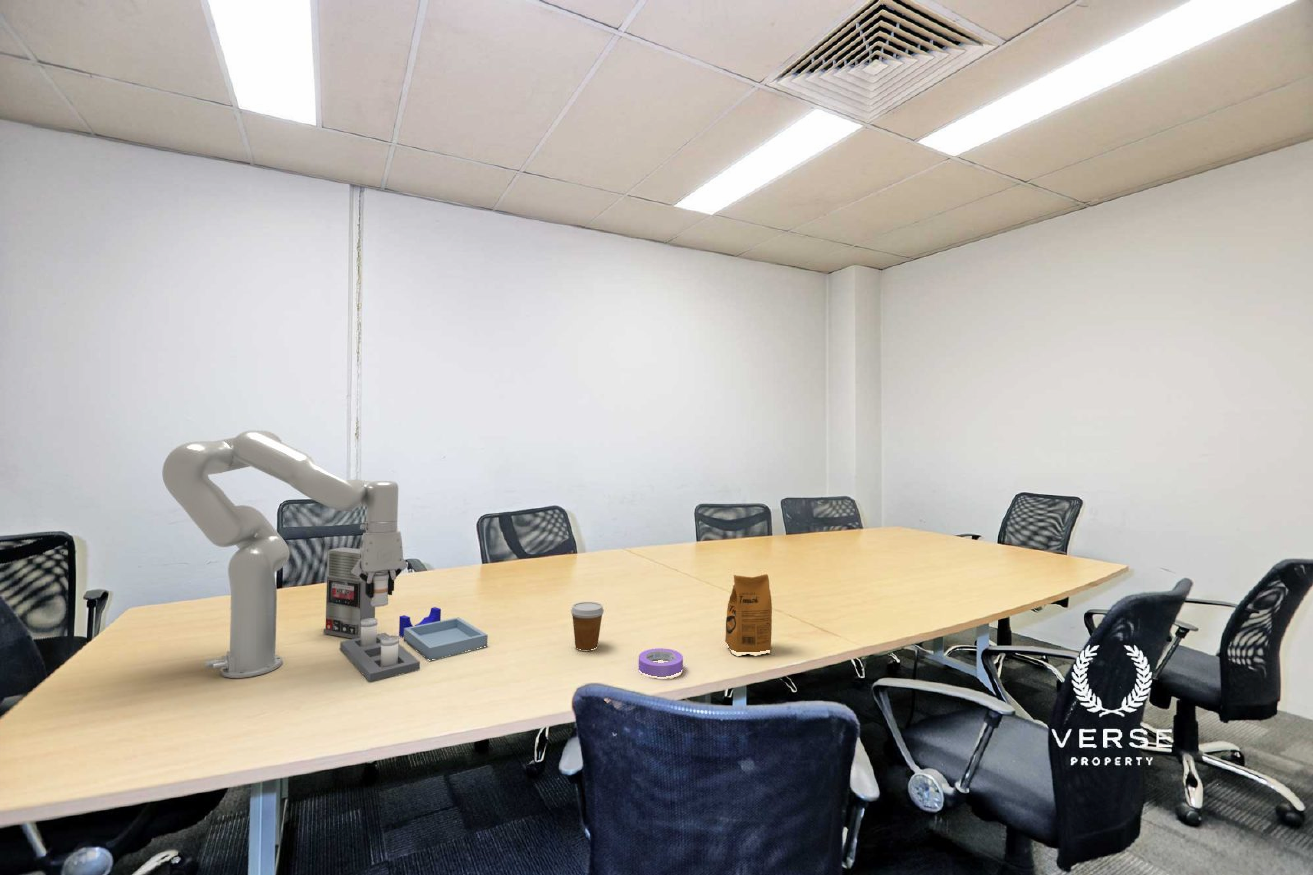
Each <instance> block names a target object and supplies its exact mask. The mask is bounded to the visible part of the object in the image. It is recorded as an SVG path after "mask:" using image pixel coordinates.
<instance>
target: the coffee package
mask: <svg viewBox="0 0 1313 875" xmlns="http://www.w3.org/2000/svg"><path fill="white" fill-rule="evenodd" d="M733 582H734V583H733V585H732V590H731V593H730V596H729V600H728V603H727V610H726V619H725V636H724V637H725V639H724V640H725V644H726V643H727V644H728V646H729V648H730V649H731V650H734V651H736V652H760V651H766V650H771V651H772V631H773V630H772V626H773V625H772V623H773V619H772V616H773V604H772V603H773V602H772V595H771V590H770V579H769V575H768V574H767V573H766V574H761V575H758V576H757V575H756V576H753V577H751V576H743V575H736V574H733ZM727 644H726V645H727Z"/></svg>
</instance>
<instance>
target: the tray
mask: <svg viewBox="0 0 1313 875" xmlns="http://www.w3.org/2000/svg"><path fill="white" fill-rule="evenodd" d="M488 637H489V636H488V634H487V633H486V632H484V631H482V630H480V629H479V628H477V627H475V626H474V625H472V624H470V623H469V622H467V621H466V620H464V619H462V618H461V617H459V616H458V617H454V618H448V619H443V620H441V621H438V622H433V623H428V624H423V625H418V626H415V625H413V627H408V628H404V638H403V641H404V642H405V641H406V642H407V643H406V642H405V643H406V644H408V645H409V646H410V647H411V646H412V647H411V648H413V649H414V650H415V651H416V650H417V651H418V652H417V651H416V652H417V653H418V654H419V655H421V656H422V655H424V656H425V657H424V656H423V657H424V659H426V658H427V659H429V660H432V659H436V660H440V659H439V658H441V659H443V658H442V657H445V656H449V655H453V656H456V655H455V654H457V655H459V654H458V653H461V654H463V653H462V652H465V651H468V650H473V651H475V650H474V649H477V648H480V647H484V646H487V647H488ZM477 650H478V649H477ZM465 653H466V652H465ZM449 657H450V656H449ZM445 658H446V657H445ZM427 659H426V660H427ZM432 661H433V660H432Z"/></svg>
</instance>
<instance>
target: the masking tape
mask: <svg viewBox="0 0 1313 875" xmlns="http://www.w3.org/2000/svg"><path fill="white" fill-rule="evenodd" d="M658 660H663V661H668V662H664V663H658V662H653V661H658ZM682 669H683V670H684V657H683V654H682V653H680V652H679V651H677V650H674V649H669V648H661V647H659V648H651V649H650V648H649V649H645V650H644V651H642V652H640V654H638V671H639V670H640V671H641V672H642V673H645V674H648V675H651V676H657V677H666V676H671V675H674V674H676V673H679V672H681V670H682Z"/></svg>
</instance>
